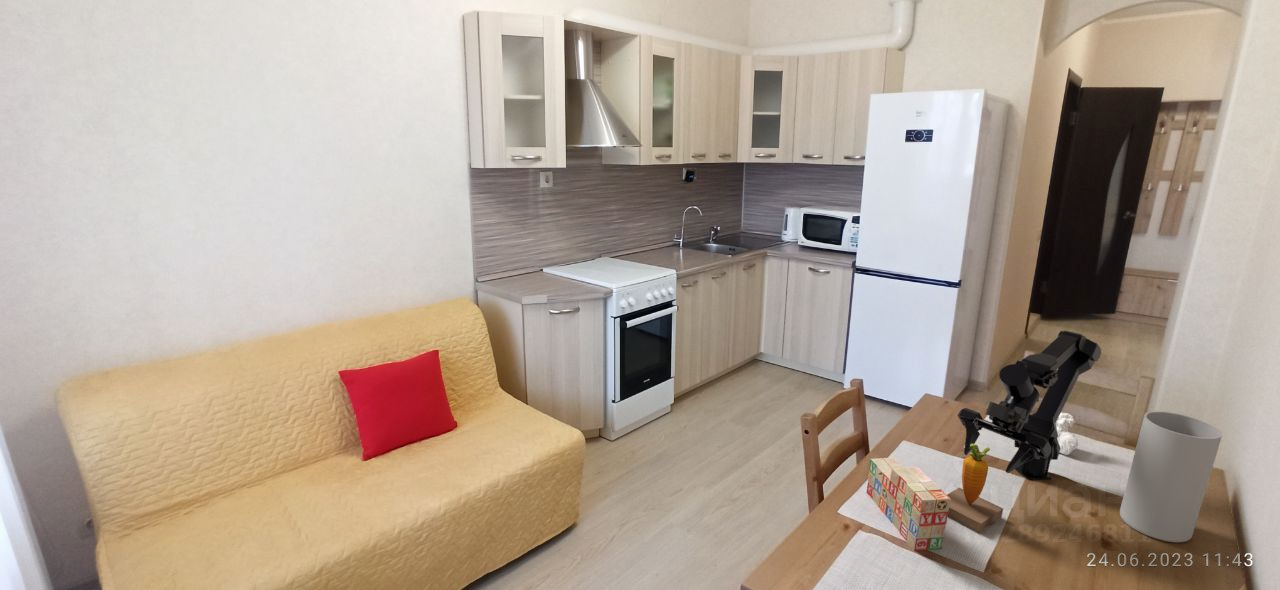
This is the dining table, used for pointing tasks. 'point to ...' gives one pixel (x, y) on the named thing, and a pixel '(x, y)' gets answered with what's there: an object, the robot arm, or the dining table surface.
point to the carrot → (974, 474)
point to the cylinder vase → (1169, 475)
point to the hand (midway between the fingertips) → (985, 462)
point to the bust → (1065, 433)
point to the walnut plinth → (973, 511)
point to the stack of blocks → (909, 502)
